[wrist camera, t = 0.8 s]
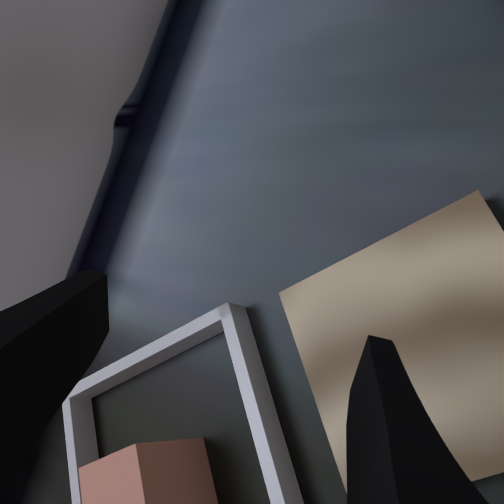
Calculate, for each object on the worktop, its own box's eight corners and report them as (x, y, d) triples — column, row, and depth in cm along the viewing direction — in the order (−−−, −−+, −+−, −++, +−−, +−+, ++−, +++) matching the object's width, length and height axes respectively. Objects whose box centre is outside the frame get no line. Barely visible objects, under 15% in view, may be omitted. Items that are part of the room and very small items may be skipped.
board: (625, 434, 20) (628, 435, 19) (364, 509, 24) (354, 515, 23) (482, 200, 25) (478, 189, 24) (290, 297, 30) (278, 292, 29)
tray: (343, 634, 23) (326, 651, 22) (117, 676, 29) (91, 692, 28) (245, 307, 31) (227, 301, 30) (82, 391, 37) (60, 391, 36)
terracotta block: (221, 515, 28) (150, 538, 24) (164, 533, 30) (88, 558, 25) (203, 437, 30) (135, 443, 26) (151, 458, 32) (78, 468, 27)
